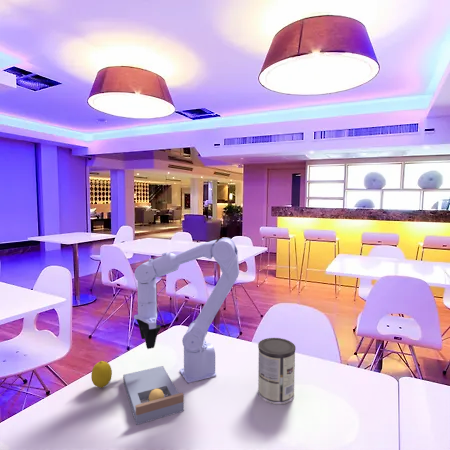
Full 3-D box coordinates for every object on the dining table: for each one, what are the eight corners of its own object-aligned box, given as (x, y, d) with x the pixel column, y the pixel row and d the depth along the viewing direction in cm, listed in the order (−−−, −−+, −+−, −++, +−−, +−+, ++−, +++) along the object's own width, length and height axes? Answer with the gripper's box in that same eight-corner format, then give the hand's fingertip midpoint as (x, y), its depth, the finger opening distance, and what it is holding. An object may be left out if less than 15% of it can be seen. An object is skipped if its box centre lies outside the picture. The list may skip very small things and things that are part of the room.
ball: (165, 400, 88) (156, 388, 89) (168, 395, 85) (158, 383, 86) (153, 411, 85) (144, 398, 87) (156, 406, 82) (146, 393, 84)
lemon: (105, 394, 90) (104, 367, 89) (87, 391, 91) (86, 364, 90) (115, 383, 95) (115, 357, 95) (99, 381, 97) (98, 355, 96)
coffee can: (263, 379, 98) (264, 334, 97) (297, 388, 94) (299, 341, 93) (252, 398, 89) (253, 349, 88) (289, 409, 84) (290, 357, 83)
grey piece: (163, 373, 101) (162, 359, 101) (183, 410, 83) (183, 394, 83) (123, 382, 96) (123, 368, 96) (136, 424, 78) (136, 407, 78)
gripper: (129, 295, 105) (130, 336, 106) (138, 309, 92) (139, 355, 93) (151, 293, 108) (151, 332, 109) (163, 306, 95) (163, 350, 96)
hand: (147, 342), depth 101 cm, fingers open, 7 cm apart
